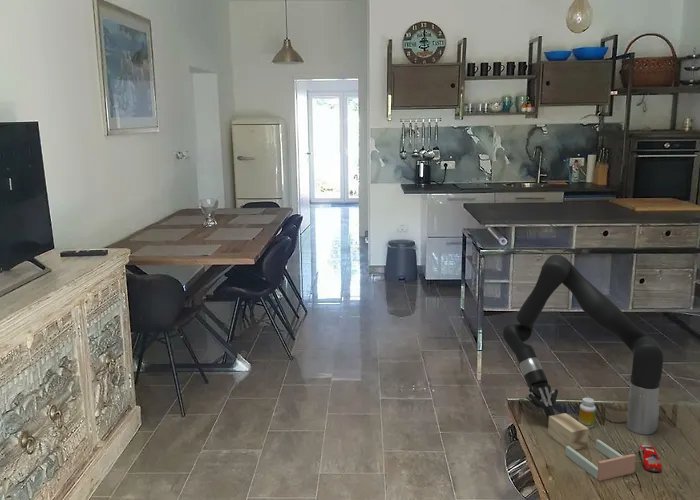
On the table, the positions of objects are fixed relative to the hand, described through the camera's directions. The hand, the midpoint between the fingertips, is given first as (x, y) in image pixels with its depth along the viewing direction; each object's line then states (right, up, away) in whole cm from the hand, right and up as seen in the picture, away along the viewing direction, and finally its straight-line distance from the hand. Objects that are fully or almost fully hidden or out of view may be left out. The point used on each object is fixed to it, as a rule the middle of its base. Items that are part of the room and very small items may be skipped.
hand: (551, 417), depth 214 cm
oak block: (+3, -6, -7) cm, 10 cm away
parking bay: (+8, -9, -21) cm, 24 cm away
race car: (+24, -9, -21) cm, 33 cm away
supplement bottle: (+14, -4, +4) cm, 15 cm away
